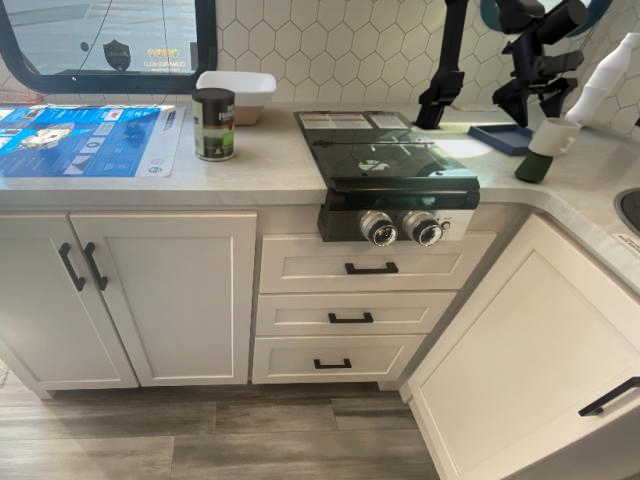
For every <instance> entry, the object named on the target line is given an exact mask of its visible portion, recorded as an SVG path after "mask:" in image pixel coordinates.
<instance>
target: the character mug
mask: <svg viewBox="0 0 640 480" xmlns="http://www.w3.org/2000/svg"><path fill="white" fill-rule="evenodd" d="M582 128H583V127H582V126H581V125H580V124H579V123H576V122H574V121H570V120H566V119H565V118H561V117H560V118H547V117H546V118H544V119H543V121H542V123H539V124H537V126H536V128H535V129H534V132H533V134H532V136H531V137H532V138H533V139H532V140H531V142H530V144H529V149H530V150H531V151H532V152H531V153H529V154H527V155H526V157H525V158H524V159H523V160H522V161H521V163H520V164H519V165H518V166H517V168H516V169H515V171H514V172H513V173H514V175H515V177H517V178H519V179H522V180H525V181H530V182H533V181H534V182H543V181H544V179H545V178H546V175H547V174H548V172H549V170H550V168H551V166H552V164H553V162H554V159H555V157H559V156H561V155H568V154H569V153H570V152H571V151H572V150H573V148H574V146H575V145H576V143H577V142H578V140H577V139H576V137H577V135H578V134H579V132H580V131H581V129H582Z"/></svg>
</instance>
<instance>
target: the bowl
mask: <svg viewBox="0 0 640 480" xmlns="http://www.w3.org/2000/svg"><path fill="white" fill-rule="evenodd" d="M195 87H196V89H200V88H223V89H228V90H231V91H233V92H234V93H235V106H234V126H253V125H255V123H256V122H257V120H258V118H259V117H260V115H261V113H262V111H263V109H264V107H265V105H266V104H267V103H268V102H269V100H270V99H271V98H272V97H273V96H274V95H275V93H276V92H277V90H278V87H277V81H276V77H274V76H273V75H272V74H271V73H264V72H251V71H235V70H234V71H231V70H230V71H229V70H228V71H227V70H206V71H204V72H202V73H201V74H200V75H199V78H198V79H197V81H196V84H195Z"/></svg>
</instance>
